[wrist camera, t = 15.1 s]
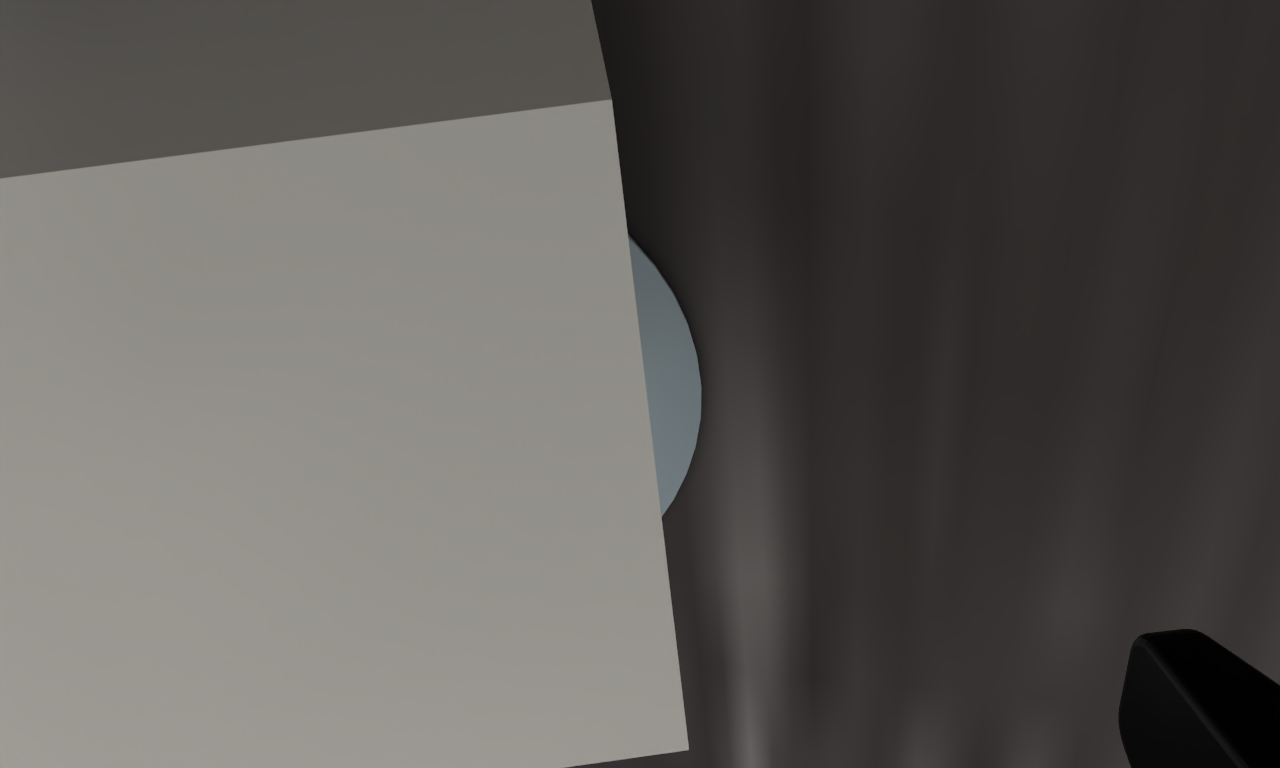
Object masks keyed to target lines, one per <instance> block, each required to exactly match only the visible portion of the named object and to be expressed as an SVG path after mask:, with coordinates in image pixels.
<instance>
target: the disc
mask: <svg viewBox="0 0 1280 768" xmlns="http://www.w3.org/2000/svg"><path fill="white" fill-rule="evenodd" d="M628 240H629V248H630V257H631V265H632V274H633V282H634V290H635V299H636V307H637V316H638V324H639V333H640V341H641V350H642V358H643V366H644V375H645V383H646V392H647V400H648V409H649V417H650V425H651V434H652V442H653V451H654V459H655V468H656V476H657V484H658V493H659V501H660V510H661V517H662V516H663V514H664V513H665V511H666V510H667V508H668V507H669V506H670V504H671V503H672V501H673V500H674V498H675V496H676V494H677V492H678V490H679V488H680V486H681V484H682V482H683V480H684V478H685V476H686V474H687V471H688V468H689V465H690V462H691V459H692V456H693V453H694V450H695V447H696V442H697V436H698V431H699V425H700V419H701V381H700V373H699V366H698V359H697V354H696V350H695V347H694V344H693V340H692V337H691V333H690V330H689V327H688V323H687V320H686V318H685V316H684V314H683V312H682V310H681V308H680V305H679V303H678V301H677V299H676V297H675V295H674V293H673V291H672V289H671V288H670V286H669V285H668V283H667V282H666V280H665V279H664V277H663V276H662V274H661V273H660V271H659V270H658V268H657V267H656V265H655V264H654V262H653V261H652V260H651V259H650V258H649V257H648V256H647V255H646V253H645V252H644V251H643V250H642V249H641V248H640V247H639V246H638V244H637V243H636V242H635V241H634V240H633V239H632V238H631V237H630V236H629V235H628Z"/></svg>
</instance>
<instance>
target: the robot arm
mask: <svg viewBox="0 0 1280 768" xmlns="http://www.w3.org/2000/svg"><path fill="white" fill-rule="evenodd" d="M1119 729H1120V735H1121V739H1122V743H1123V746H1124V749H1125V752H1126V754H1127V757H1128V760H1129V763H1130V766H1131V768H1280V685H1279V684H1277V683H1276V682H1274V681H1273V680H1271V679H1270V678H1268V677H1267V676H1266V675H1264V674H1263V673H1261V672H1260V671H1258V670H1257V669H1255V668H1254V667H1252V666H1251V665H1249V664H1248V663H1247V662H1245V661H1244V660H1242V659H1241V658H1239V657H1238V656H1236V655H1235V654H1233V653H1232V652H1230V651H1229V650H1228V649H1226V648H1225V647H1223V646H1222V645H1220V644H1219V643H1217V642H1216V641H1214V640H1213V639H1211V638H1210V637H1209V636H1207V635H1205V634H1203V633H1201V632H1199V631H1196V630H1192V629H1179V630H1171V631H1162V632H1154V633H1145V634H1143V635H1140V636H1139V637H1138V638H1137V639H1136V640H1135V641H1134V643H1133V645H1132V648H1131V651H1130V656H1129V661H1128V666H1127V671H1126V676H1125V681H1124V686H1123V691H1122V696H1121V701H1120V706H1119Z"/></svg>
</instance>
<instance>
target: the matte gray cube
mask: <svg viewBox="0 0 1280 768" xmlns="http://www.w3.org/2000/svg"><path fill="white" fill-rule="evenodd" d="M685 750H689V746H688V737H687V729H686V721H685V712H684V704H683V695H682V687H681V678H680V670H679V662H678V653H677V645H676V636H675V628H674V619H673V611H672V602H671V594H670V586H669V577H668V569H667V560H666V552H665V543H664V535H663V527H662V518H661V510H660V501H659V493H658V484H657V476H656V468H655V459H654V451H653V442H652V434H651V425H650V417H649V409H648V400H647V392H646V383H645V375H644V366H643V358H642V350H641V341H640V333H639V324H638V316H637V307H636V299H635V290H634V282H633V274H632V265H631V257H630V248H629V240H628V231H627V223H626V215H625V206H624V198H623V189H622V181H621V172H620V164H619V156H618V147H617V139H616V130H615V122H614V113H613V105H612V98H611V93H610V88H609V84H608V79H607V74H606V69H605V65H604V60H603V55H602V50H601V46H600V41H599V36H598V31H597V27H596V22H595V17H594V12H593V8H592V3H591V0H0V768H564V767H571V766H578V765H585V764H592V763H599V762H607V761H614V760H621V759H628V758H635V757H642V756H649V755H656V754H663V753H670V752H678V751H685Z"/></svg>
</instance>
